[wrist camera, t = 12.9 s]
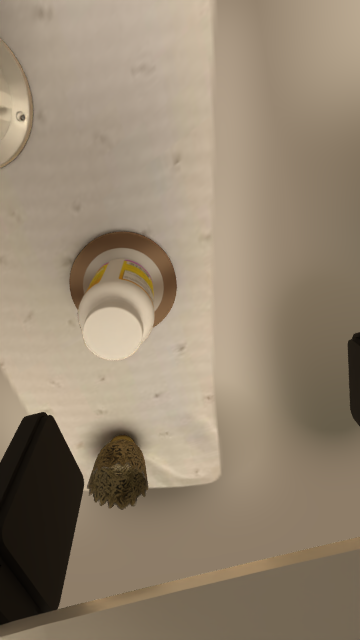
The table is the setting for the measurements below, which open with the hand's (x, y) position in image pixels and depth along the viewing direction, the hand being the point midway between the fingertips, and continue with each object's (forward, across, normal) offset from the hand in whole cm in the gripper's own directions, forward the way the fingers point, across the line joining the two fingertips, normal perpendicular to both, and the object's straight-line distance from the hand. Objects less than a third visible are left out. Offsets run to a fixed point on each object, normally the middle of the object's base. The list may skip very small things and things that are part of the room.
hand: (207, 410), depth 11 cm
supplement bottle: (+29, +6, +4) cm, 30 cm away
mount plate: (+30, +6, +4) cm, 31 cm away
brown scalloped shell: (+31, +13, +27) cm, 43 cm away
